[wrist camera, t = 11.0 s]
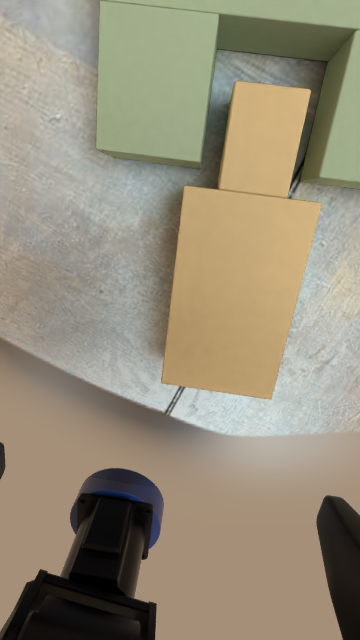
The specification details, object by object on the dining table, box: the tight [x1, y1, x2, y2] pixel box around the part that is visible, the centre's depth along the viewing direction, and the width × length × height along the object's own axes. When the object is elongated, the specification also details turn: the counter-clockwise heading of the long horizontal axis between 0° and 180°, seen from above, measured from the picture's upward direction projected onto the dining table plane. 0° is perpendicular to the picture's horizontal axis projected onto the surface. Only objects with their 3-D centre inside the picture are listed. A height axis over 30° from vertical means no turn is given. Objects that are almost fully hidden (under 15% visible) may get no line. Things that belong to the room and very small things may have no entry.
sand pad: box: [161, 81, 322, 399], centre depth 16 cm, size 14×6×3 cm, turn 173°
